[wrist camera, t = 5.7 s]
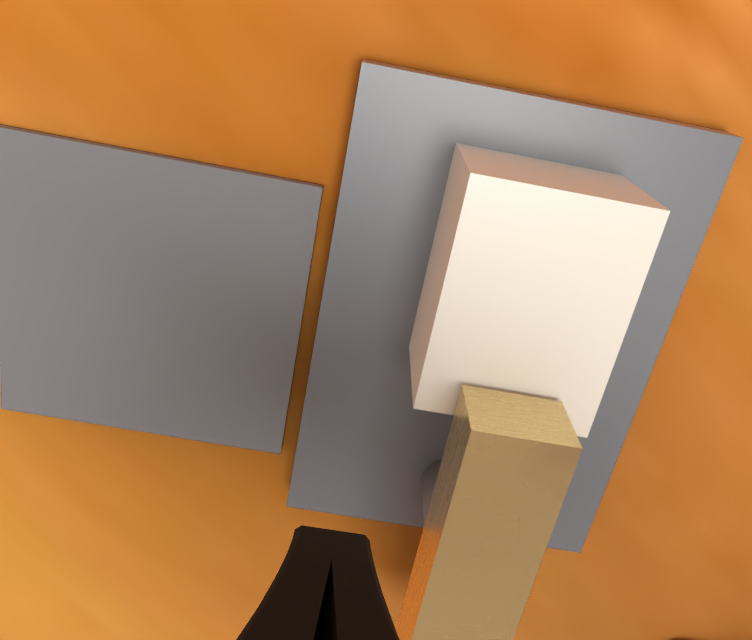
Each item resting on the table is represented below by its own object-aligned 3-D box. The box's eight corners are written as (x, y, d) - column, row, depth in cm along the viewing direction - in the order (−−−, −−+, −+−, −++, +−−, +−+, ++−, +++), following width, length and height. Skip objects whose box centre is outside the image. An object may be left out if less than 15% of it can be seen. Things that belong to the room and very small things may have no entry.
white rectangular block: (622, 174, 19) (670, 211, 16) (556, 372, 21) (587, 437, 18) (455, 142, 19) (470, 173, 15) (409, 346, 21) (413, 408, 18)
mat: (323, 185, 20) (322, 187, 20) (281, 448, 24) (280, 454, 23) (-3, 123, 20) (-8, 125, 19) (5, 404, 23) (1, 408, 23)
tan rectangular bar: (561, 401, 17) (582, 448, 16) (458, 706, 22) (465, 771, 20) (462, 384, 17) (471, 430, 15) (378, 695, 22) (377, 759, 20)
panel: (726, 131, 19) (821, 168, 15) (573, 532, 25) (611, 640, 21) (363, 58, 19) (356, 76, 15) (290, 487, 24) (270, 589, 20)
